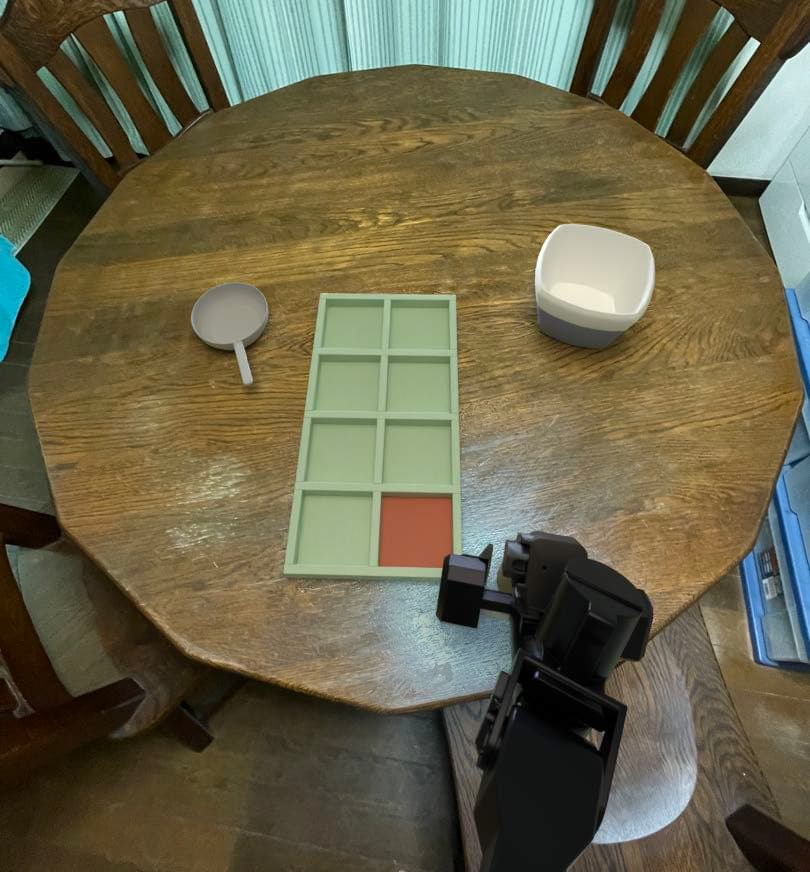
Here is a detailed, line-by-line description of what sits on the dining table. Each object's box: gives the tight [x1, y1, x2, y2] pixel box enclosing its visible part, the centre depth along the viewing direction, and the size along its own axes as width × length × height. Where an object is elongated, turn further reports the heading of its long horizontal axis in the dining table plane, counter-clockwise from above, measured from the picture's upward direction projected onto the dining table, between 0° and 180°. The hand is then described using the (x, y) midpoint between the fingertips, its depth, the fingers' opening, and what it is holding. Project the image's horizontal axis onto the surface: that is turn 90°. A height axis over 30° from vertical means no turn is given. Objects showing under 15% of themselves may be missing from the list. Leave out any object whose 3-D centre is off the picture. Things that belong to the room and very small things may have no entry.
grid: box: [282, 292, 463, 583], centre depth 77 cm, size 39×20×2 cm, turn 178°
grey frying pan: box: [190, 281, 269, 386], centre depth 83 cm, size 11×18×4 cm, turn 21°
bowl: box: [534, 223, 656, 350], centre depth 82 cm, size 15×15×11 cm
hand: (534, 555), depth 62 cm, fingers open, 9 cm apart
